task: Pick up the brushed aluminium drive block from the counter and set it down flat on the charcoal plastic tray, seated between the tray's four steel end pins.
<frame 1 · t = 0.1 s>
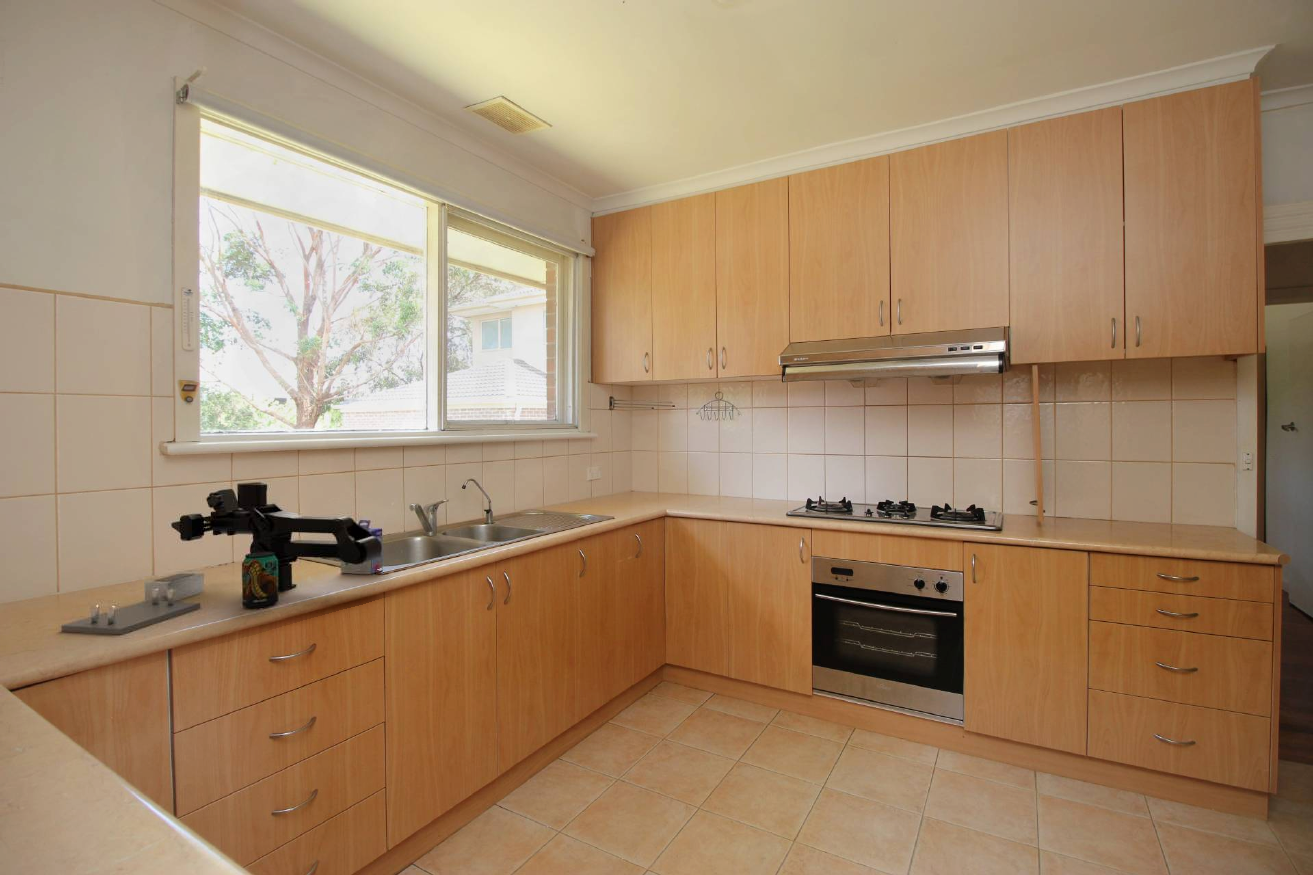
hand: (188, 521, 161), 17 cm above the countertop, tool horizontal, fingers open, 9 cm apart
drive: (175, 597, 150), on the countertop
ink cartridge box: (362, 572, 175), on the countertop
beverage can: (260, 606, 143), on the countertop
pin tray: (134, 619, 133), on the countertop
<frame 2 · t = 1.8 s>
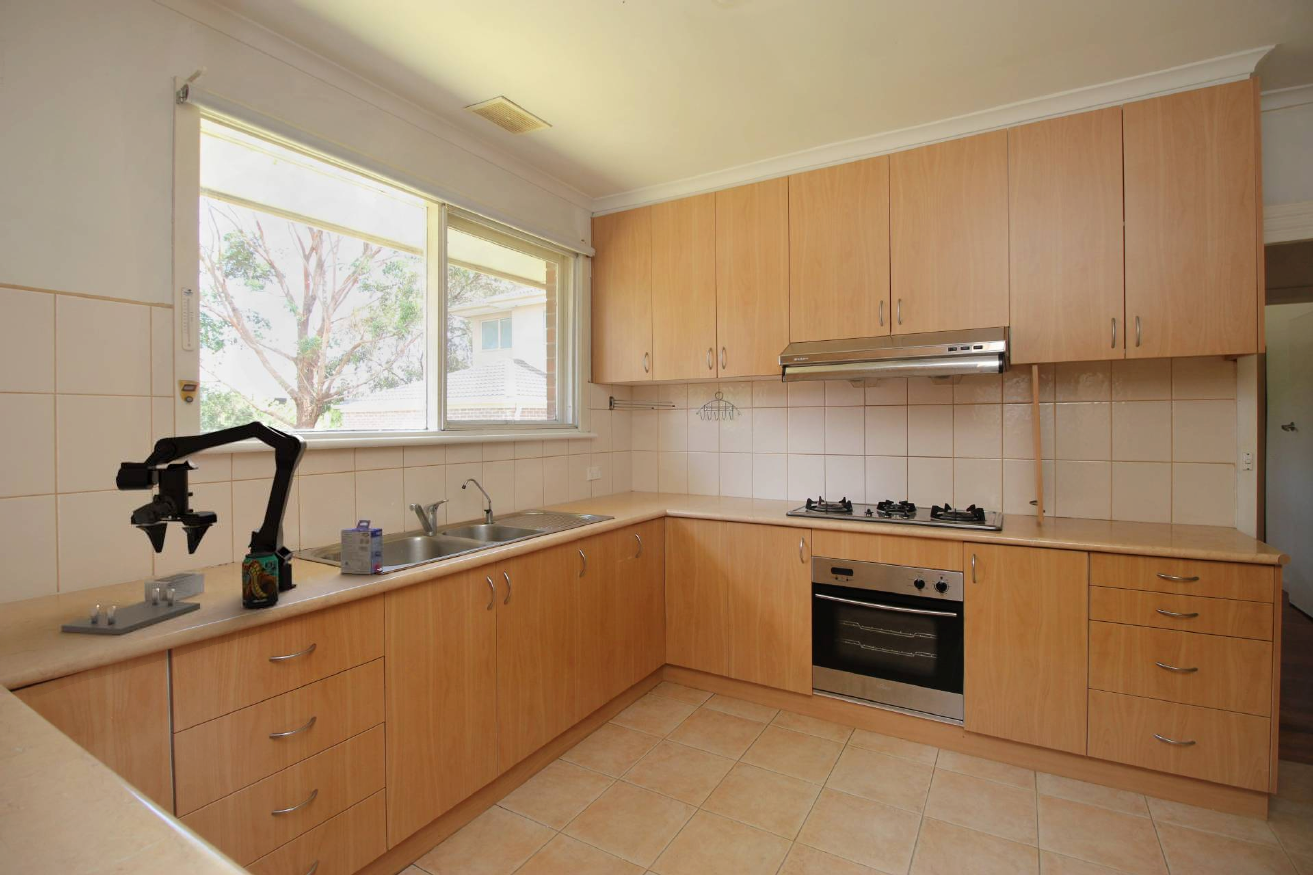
hand: (175, 553, 150), 11 cm above the countertop, tool pointing down, fingers open, 9 cm apart
nothing on the countertop moved.
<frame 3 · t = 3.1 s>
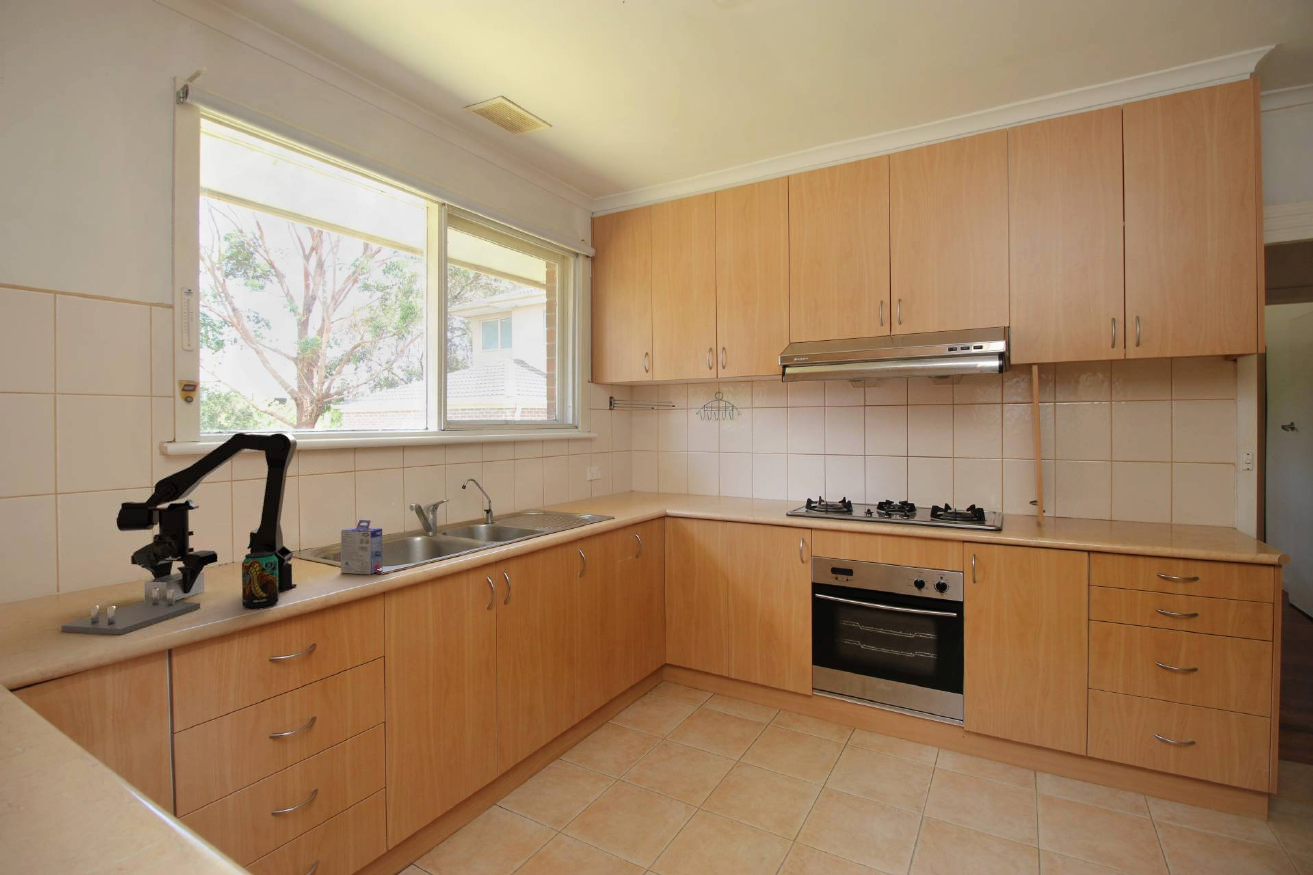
hand: (175, 592, 150), 1 cm above the countertop, tool pointing down, fingers closed on drive, 6 cm apart
drive: (175, 597, 150), on the countertop, touching gripper
everything else where it was.
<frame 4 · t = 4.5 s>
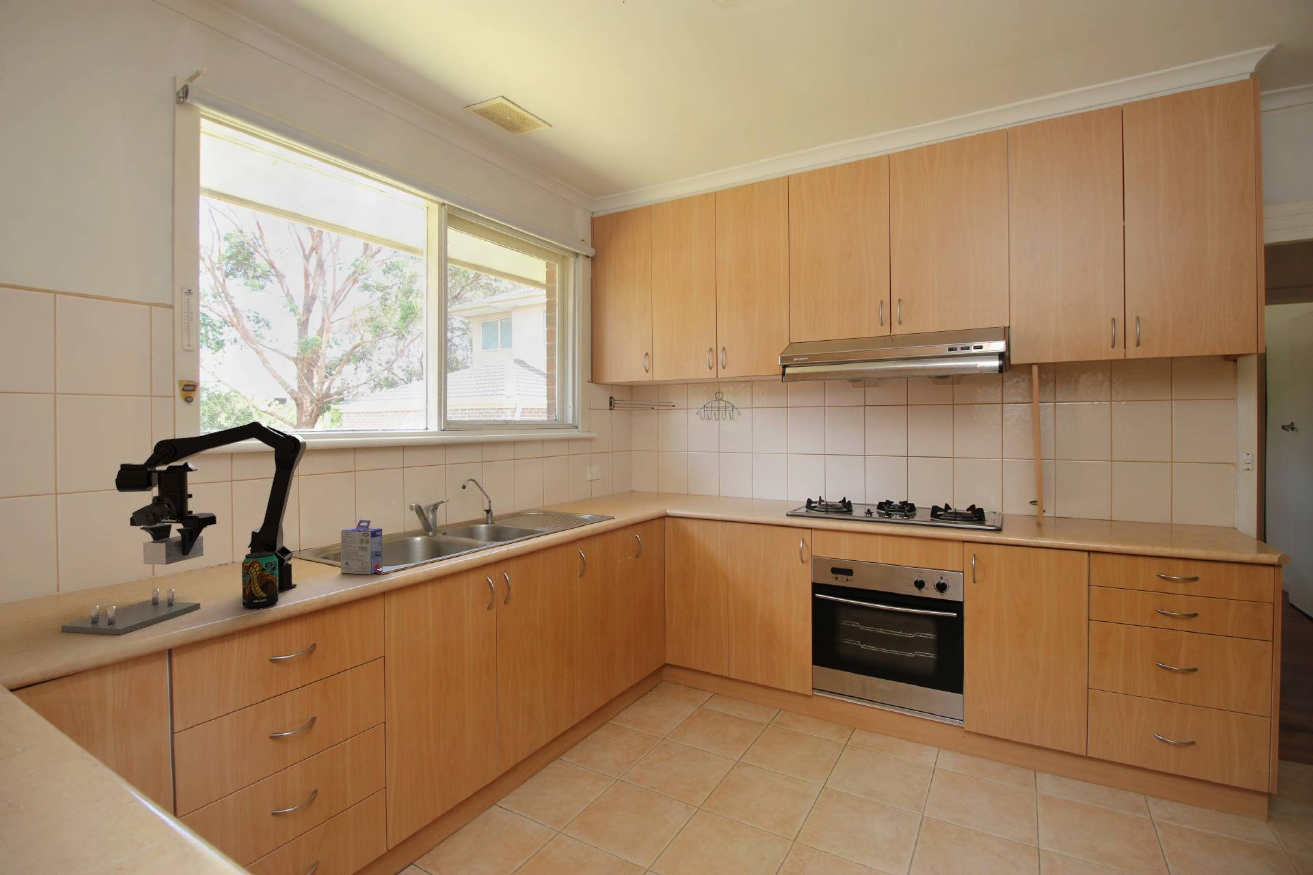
hand: (174, 555, 150), 10 cm above the countertop, tool pointing down, fingers closed on drive, 6 cm apart
drive: (174, 559, 150), point 9 cm above the countertop, touching gripper
everything else where it was.
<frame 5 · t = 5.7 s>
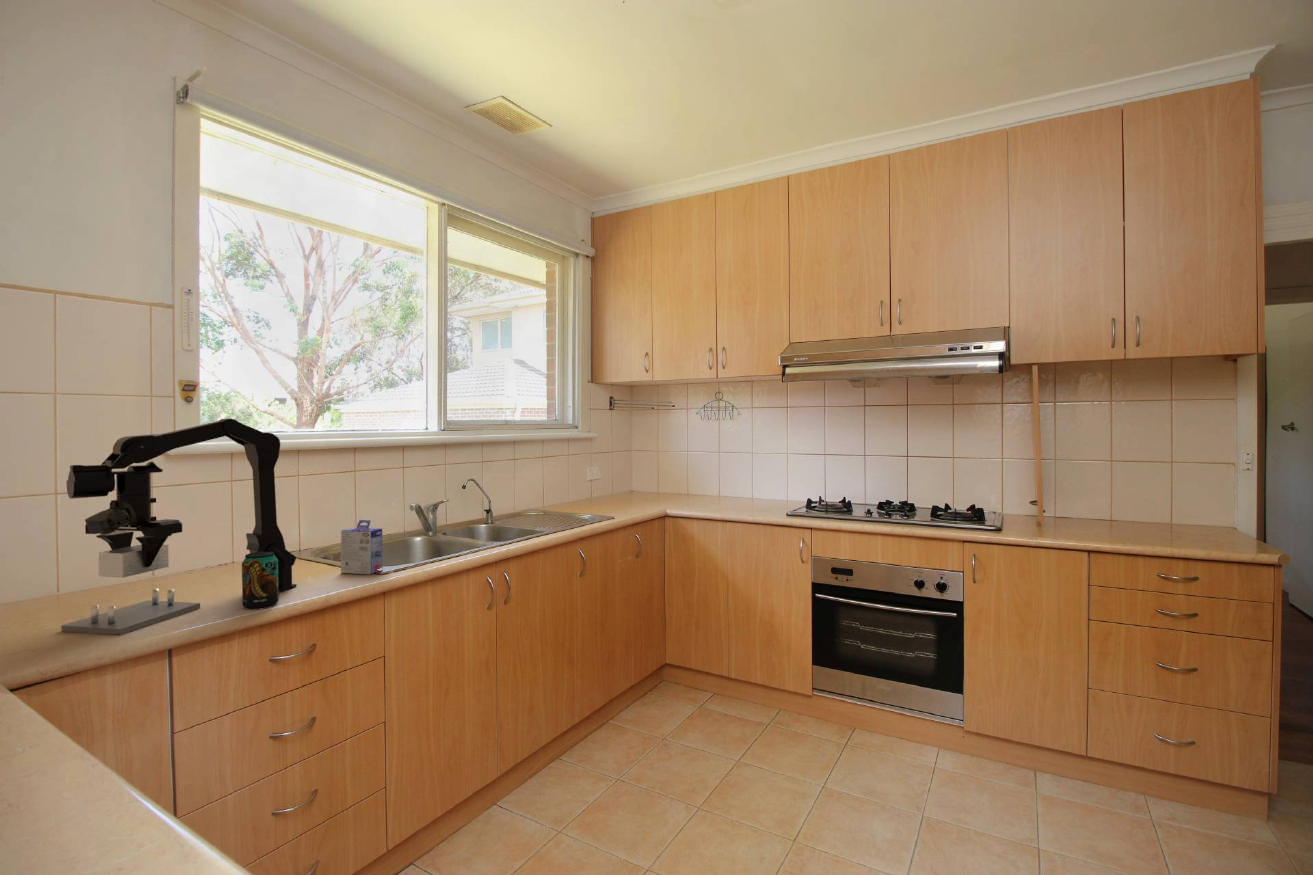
hand: (134, 566, 134), 11 cm above the countertop, tool pointing down, fingers closed on drive, 6 cm apart
drive: (134, 571, 134), point 10 cm above the countertop, touching gripper
everything else where it was.
when the fingers open (4 cm above the countertop, at t = 7.6 s): drive drops 1 cm, resting on pin tray.
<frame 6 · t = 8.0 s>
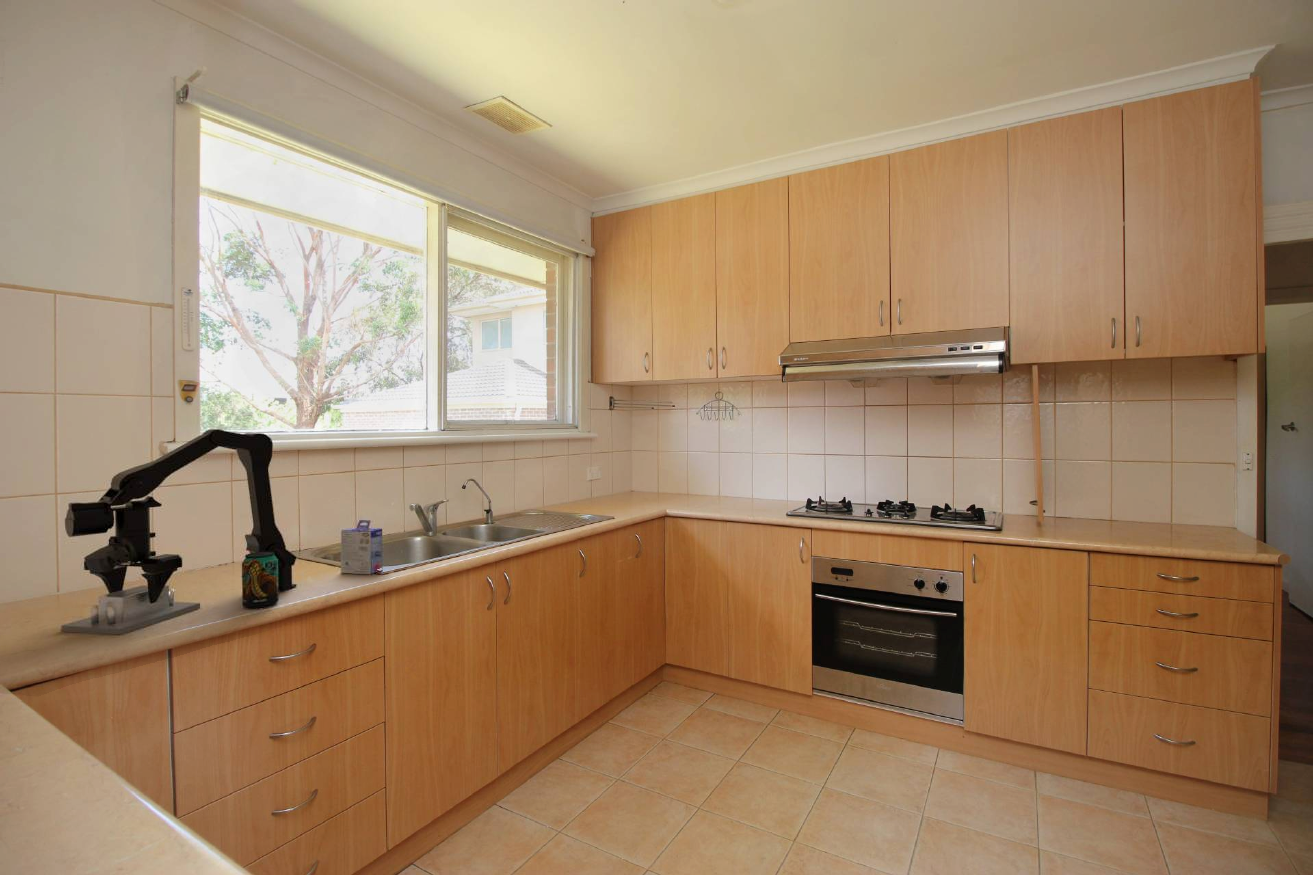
hand: (134, 602, 133), 4 cm above the countertop, tool pointing down, fingers open, 9 cm apart
drive: (135, 613, 133), point 1 cm above the countertop, touching pin tray
everything else where it was.
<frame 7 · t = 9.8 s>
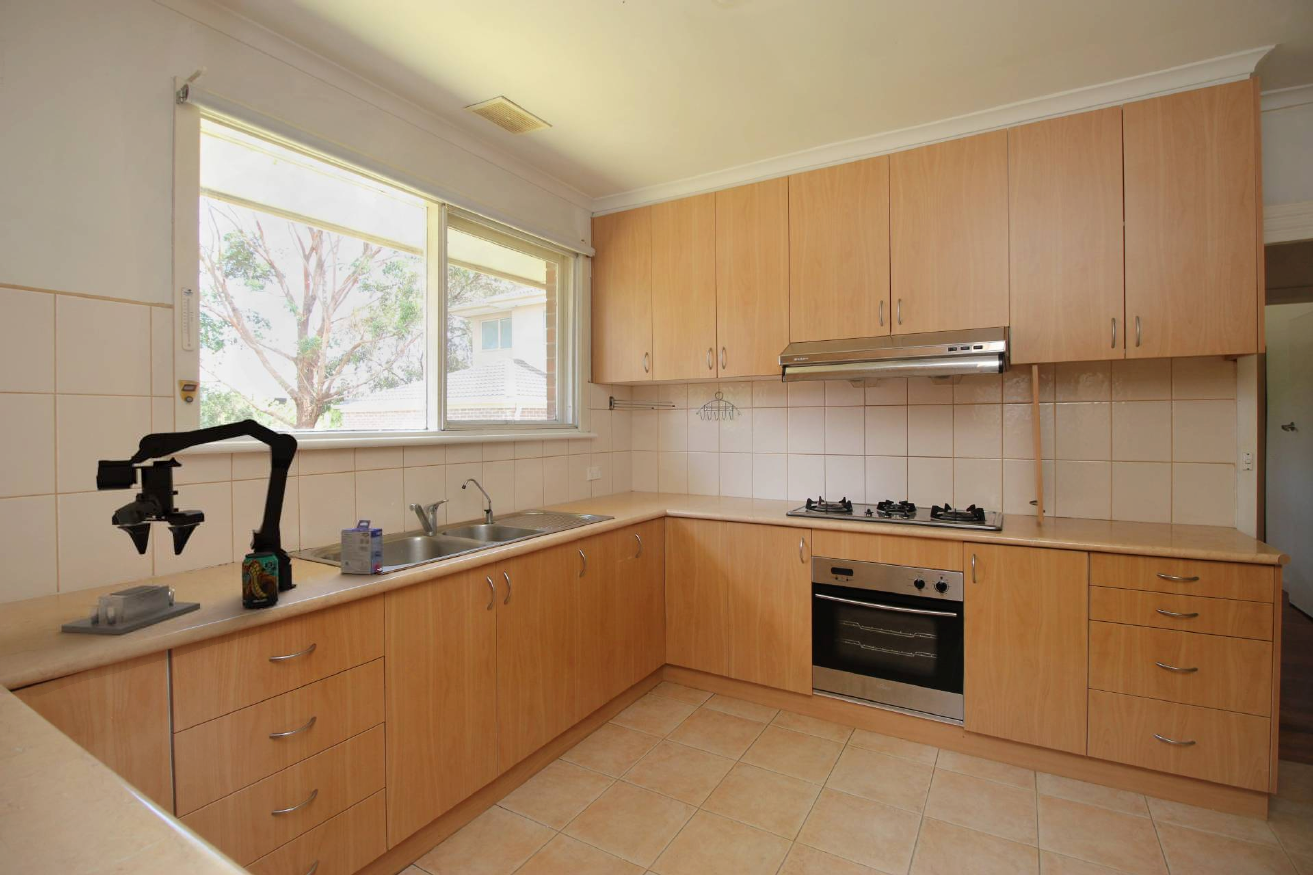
hand: (160, 554, 144), 12 cm above the countertop, tool pointing down, fingers open, 9 cm apart
nothing on the countertop moved.
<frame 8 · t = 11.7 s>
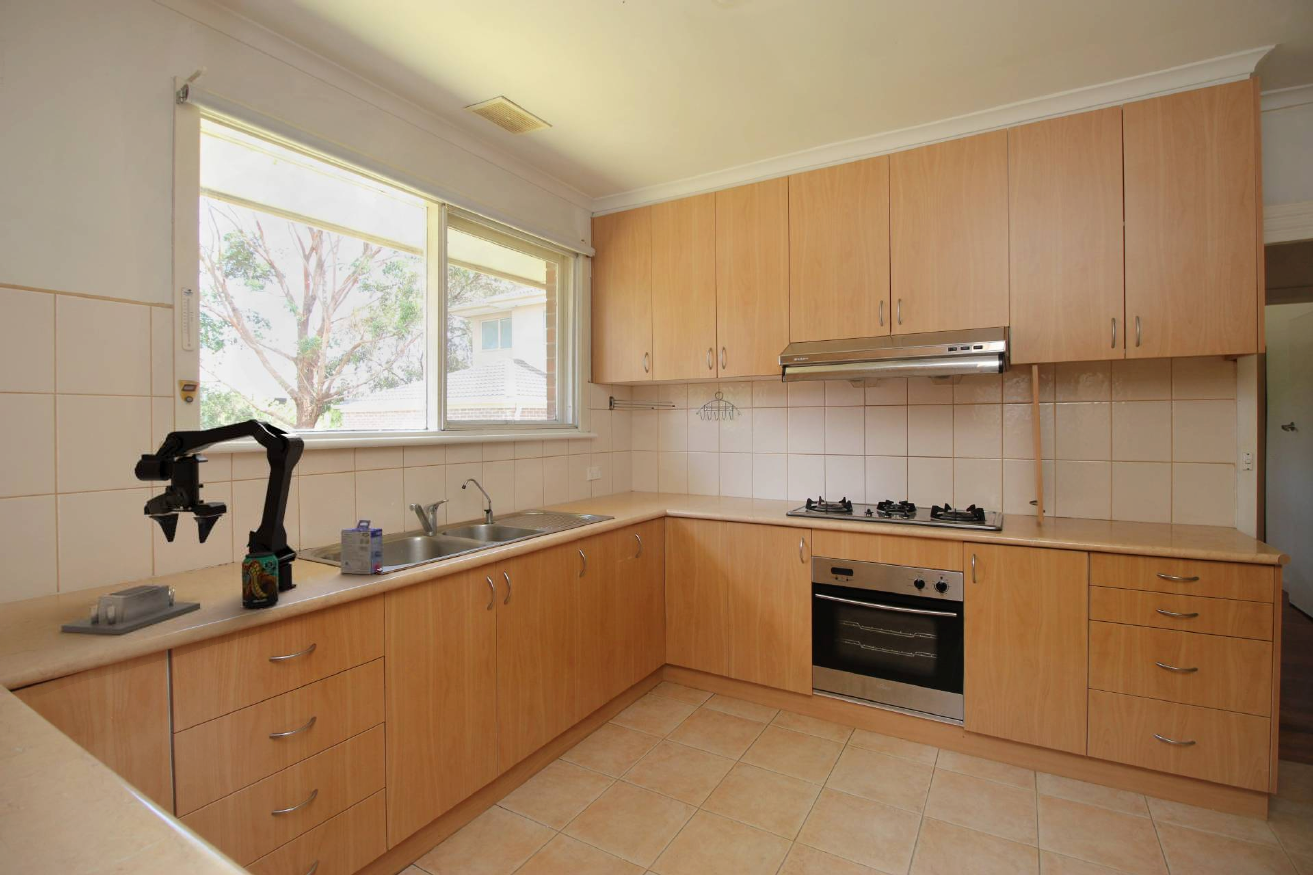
hand: (186, 542, 156), 12 cm above the countertop, tool pointing down, fingers open, 9 cm apart
nothing on the countertop moved.
at the end: drive 0.2 cm off-centre on the pin tray, point 1.2 cm above the pin tray's base; drive tilted 0°; the gripper is holding nothing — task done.
